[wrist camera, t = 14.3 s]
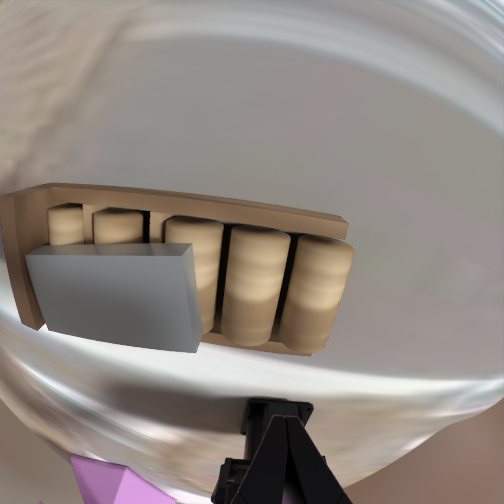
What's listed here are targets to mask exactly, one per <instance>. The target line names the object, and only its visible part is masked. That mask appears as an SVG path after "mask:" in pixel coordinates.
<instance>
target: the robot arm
mask: <svg viewBox="0 0 504 504" xmlns="http://www.w3.org/2000/svg"><path fill="white" fill-rule="evenodd" d="M252 403H253V404H252ZM313 409H314V408H313V404H309V403H291V402H278V401H267V400H258V399H249V400H248V401H247V404H246V409H245V413H244V418H243V422H242V426H241V432H240V433H241V434H242V435H246V441H245V452H244V459H232V458H226V459H225V463H224V464H223V465H221V468H220V474H219V479H218V482H217V484H216V487H215V489H214V491H213V494H212V496H211V502H212V503H213V504H353V503H352V502H351V500H350V499H349V498H348V496H347V494H346V493H345V492H344V490H343V489H342V487H341V486H340V484H339V483H338V481H337V479H336V478H335V476H334V475H333V473H332V472H331V470H330V469H329V467H328V465H327V463H326V459H325V456H321V454H320V453H319V451H318V450H317V448H316V446H315V445H314V443H313V441H312V440H311V438H310V437H309V435H308V433H307V432H306V430H305V428H304V427H305V425H306V423H307V421H308V419H309V418H310V416H311V414H312V412H313Z"/></svg>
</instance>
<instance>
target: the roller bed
mask: <svg viewBox="0 0 504 504" xmlns="http://www.w3.org/2000/svg"><path fill="white" fill-rule="evenodd" d="M50 187H51V201H61V202H72V203H69V204H61V205H57V206H54V207H51V208H49V209H48V210H47V214H48V230H49V241H50V245H90V244H94V213H95V212H97V211H100V210H104V209H108V206H111V207H120V208H129V209H138V210H146V211H151V212H150V244H153V243H192V245H193V256H194V266H195V275H196V284H197V293H198V301H199V309H200V317H201V324H202V331H203V334H202V337H201V340H200V342H205V343H211V344H216V345H222V346H229V347H235V348H242V349H249V350H256V351H264V352H272V353H280V354H290V355H300V356H311V354H312V353H315V352H318V351H320V350H322V349H323V348H324V346H325V344H326V341H327V339H328V336H329V333H330V330H331V327H332V324H333V321H334V318H335V315H336V312H337V309H338V306H339V303H340V300H341V296H342V293H343V290H344V286H345V283H346V280H347V276H348V273H349V269H350V266H351V262H352V258H353V254H354V249H353V247H351V246H350V245H348V244H347V243H345V242H342V241H340V240H337V239H334V238H338V239H344V240H345V238H346V233H347V229H348V225H349V223H347V222H346V221H345V220H344V219H343V218H342V217H341V216H336V215H330V214H325V213H319V212H314V211H308V210H302V209H296V208H290V207H284V206H278V205H272V204H265V203H259V202H252V201H245V200H238V199H230V198H223V197H215V196H207V195H199V194H190V193H182V192H172V191H163V190H152V189H142V188H130V187H117V186H103V185H88V184H68V183H62V184H58V185H54V186H50ZM174 214H178V215H186V216H187V217H175V218H173V216H174ZM188 216H194V217H188ZM208 218H209V219H208ZM212 219H216V220H223V221H230V222H237V223H244V224H251V225H239V226H235V227H233V228H232V231H231V239H230V247H229V256H228V264H227V273H226V282H225V291H224V300H223V310H222V318H216V317H215V308H216V297H217V286H218V276H219V266H220V257H221V247H222V238H223V229H224V226H223V224H222V223H220V222H218V221H215V220H212ZM269 227H270V228H269ZM273 228H277V229H283V230H290V231H296V232H302V233H308V235H301V236H300V237H299V239H298V244H297V249H296V254H295V258H294V263H293V268H292V273H291V277H290V282H289V287H288V291H287V296H286V300H285V305H284V309H283V313H282V318H281V322H280V326H279V327H278V326H273V322H274V318H275V313H276V309H277V304H278V299H279V295H280V290H281V285H282V280H283V275H284V270H285V265H286V260H287V255H288V250H289V245H290V239H291V238H290V236H289V235H288V234H286V233H284V232H282V231H280V230H277V229H273ZM312 234H314V235H312ZM330 237H332V238H330Z"/></svg>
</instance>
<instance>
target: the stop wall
mask: <svg viewBox="0 0 504 504" xmlns="http://www.w3.org/2000/svg"><path fill="white" fill-rule="evenodd" d="M58 184H62V183H48V184H44V185H40V186H36V187H32V188H28V189H24V190H21V191H17V192H14V193H10V194H7V195H4V196H0V218H1V228H2V237H3V244H4V251H5V257H6V262H7V268H8V273H9V277H10V282H11V286H12V290H13V294H14V298H15V302H16V306H17V309H18V313H19V316H20V319H21V322H22V324H24V325H26V326H28V327H30V328H32V329H34V330H36V331H38V330H39V329H40V328H41V327H42V326H43V325H44V324H45V323H46V322H45V320H44V317H43V315H42V312H41V309H40V306H39V303H38V300H37V297H36V294H35V291H34V288H33V285H32V282H31V278H30V275H29V271H28V267H27V264H26V260H25V254H27V253H29V252H31V251H33V250H34V249H36V248H38V247H40V246H44V245H50V241H49V230H48V214H47V210H48V209H49V208H51V207H54V206H57V205H61V204H67V202H61V201H51V187H50V186H54V185H58Z"/></svg>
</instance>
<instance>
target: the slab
mask: <svg viewBox="0 0 504 504" xmlns="http://www.w3.org/2000/svg"><path fill="white" fill-rule="evenodd" d="M25 260H26V264H27V267H28V271H29V275H30V278H31V282H32V285H33V288H34V291H35V294H36V297H37V300H38V303H39V306H40V309H41V312H42V315H43V317H44V320H45V322H46V325H47V328H48V330H49V331H53V332H58V333H62V334H67V335H71V336H76V337H81V338H86V339H91V340H96V341H102V342H108V343H114V344H120V345H126V346H133V347H141V348H149V349H157V350H166V351H176V352H187V353H196V352H197V349H198V346H199V343H200V340H201V337H202V334H203V331H202V324H201V317H200V309H199V301H198V293H197V284H196V275H195V266H194V256H193V245H192V243H153V244H90V245H44V246H40V247H38V248H36V249H34V250H33V251H31V252H29V253H27V254H25Z"/></svg>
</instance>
